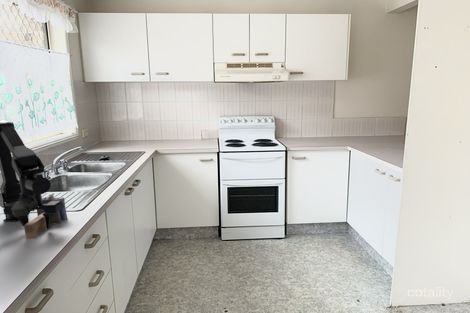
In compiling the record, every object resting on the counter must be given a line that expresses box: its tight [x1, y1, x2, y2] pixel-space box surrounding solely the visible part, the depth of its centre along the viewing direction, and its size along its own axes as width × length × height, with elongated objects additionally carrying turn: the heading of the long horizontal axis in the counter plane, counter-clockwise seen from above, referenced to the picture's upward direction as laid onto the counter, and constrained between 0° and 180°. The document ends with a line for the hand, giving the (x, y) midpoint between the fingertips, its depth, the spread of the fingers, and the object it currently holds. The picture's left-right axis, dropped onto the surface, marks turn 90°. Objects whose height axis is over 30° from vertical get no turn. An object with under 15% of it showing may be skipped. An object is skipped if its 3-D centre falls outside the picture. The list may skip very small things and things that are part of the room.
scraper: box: [23, 209, 62, 239], centre depth 117 cm, size 13×8×6 cm, turn 0°
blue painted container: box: [42, 193, 68, 221], centre depth 126 cm, size 9×3×11 cm, turn 91°
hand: (37, 229), depth 116 cm, fingers open, 8 cm apart
